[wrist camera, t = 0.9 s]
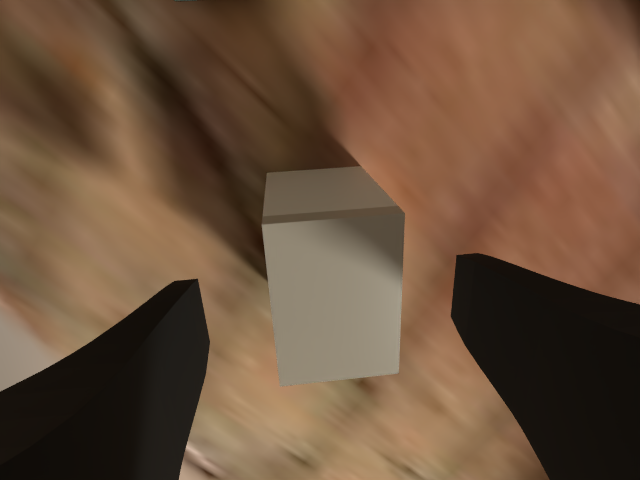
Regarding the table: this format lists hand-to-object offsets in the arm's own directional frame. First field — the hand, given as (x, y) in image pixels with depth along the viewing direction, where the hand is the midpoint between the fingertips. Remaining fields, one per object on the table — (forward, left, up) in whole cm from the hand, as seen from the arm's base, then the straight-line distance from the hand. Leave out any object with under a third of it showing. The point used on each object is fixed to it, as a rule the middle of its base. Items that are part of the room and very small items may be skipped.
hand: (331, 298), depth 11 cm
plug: (0, 0, -5) cm, 5 cm away
